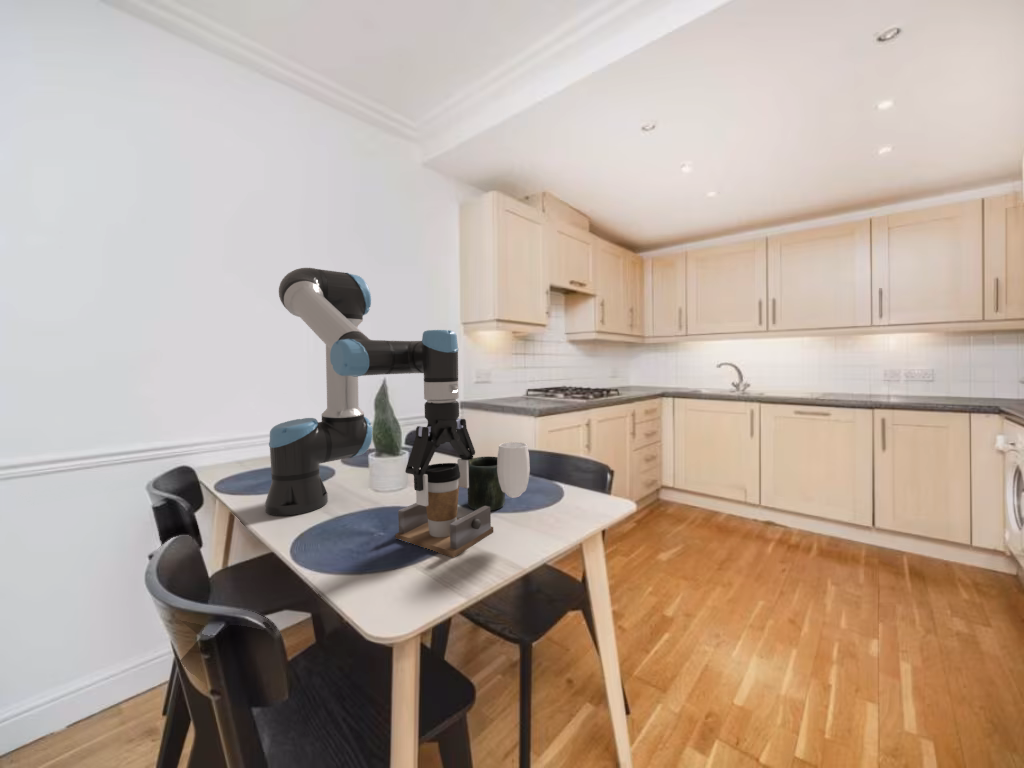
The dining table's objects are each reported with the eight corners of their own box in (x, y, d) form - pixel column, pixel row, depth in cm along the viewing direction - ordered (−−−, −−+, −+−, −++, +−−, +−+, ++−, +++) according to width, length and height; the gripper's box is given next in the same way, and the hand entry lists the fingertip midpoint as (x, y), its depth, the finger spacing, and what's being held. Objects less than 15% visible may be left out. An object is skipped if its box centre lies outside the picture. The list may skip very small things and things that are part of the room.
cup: (534, 543, 88) (532, 447, 87) (500, 546, 87) (498, 449, 86) (527, 529, 96) (526, 440, 94) (496, 532, 94) (494, 442, 93)
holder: (392, 538, 92) (391, 511, 92) (435, 517, 104) (435, 493, 103) (457, 558, 82) (456, 528, 82) (497, 533, 94) (496, 506, 94)
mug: (461, 511, 107) (460, 466, 106) (474, 493, 122) (473, 453, 121) (503, 513, 106) (502, 467, 105) (511, 494, 120) (510, 453, 119)
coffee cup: (454, 541, 87) (452, 471, 86) (417, 538, 89) (414, 469, 88) (466, 525, 95) (465, 461, 94) (432, 523, 97) (430, 460, 96)
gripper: (412, 407, 78) (415, 517, 80) (488, 396, 100) (490, 483, 101) (385, 406, 82) (388, 510, 84) (464, 395, 104) (465, 478, 105)
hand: (444, 495), depth 92 cm, fingers open, 13 cm apart
